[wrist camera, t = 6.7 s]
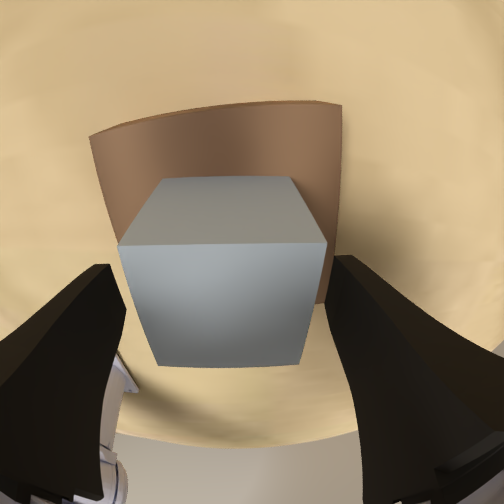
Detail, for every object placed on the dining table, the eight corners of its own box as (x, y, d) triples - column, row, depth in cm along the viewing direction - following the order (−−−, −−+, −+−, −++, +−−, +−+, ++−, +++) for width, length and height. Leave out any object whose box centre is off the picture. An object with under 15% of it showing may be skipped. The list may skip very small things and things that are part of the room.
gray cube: (176, 278, 13) (158, 365, 9) (162, 178, 10) (117, 246, 6) (280, 277, 13) (299, 364, 9) (289, 176, 10) (327, 243, 6)
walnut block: (161, 273, 18) (148, 317, 14) (123, 122, 12) (88, 136, 9) (311, 260, 18) (327, 302, 14) (313, 100, 12) (341, 105, 9)
